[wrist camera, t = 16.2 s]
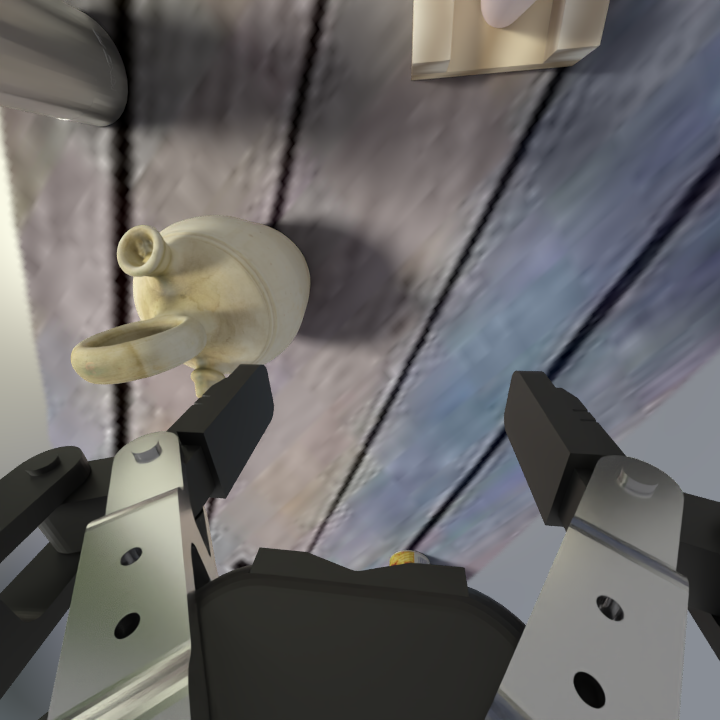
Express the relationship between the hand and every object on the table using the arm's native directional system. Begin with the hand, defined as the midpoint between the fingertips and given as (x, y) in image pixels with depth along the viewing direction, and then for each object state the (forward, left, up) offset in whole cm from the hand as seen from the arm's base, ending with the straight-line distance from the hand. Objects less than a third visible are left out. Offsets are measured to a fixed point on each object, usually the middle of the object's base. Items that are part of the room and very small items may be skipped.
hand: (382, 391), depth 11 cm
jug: (-17, -3, -30) cm, 35 cm away
